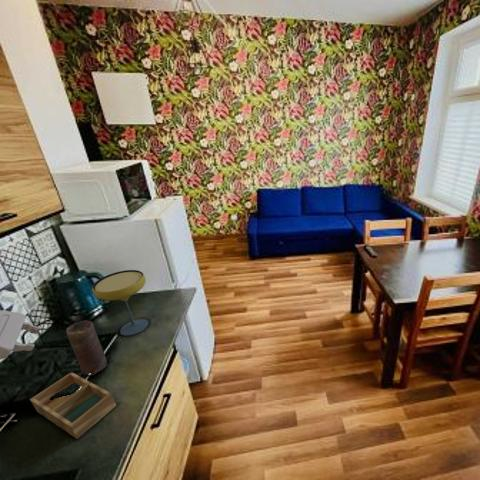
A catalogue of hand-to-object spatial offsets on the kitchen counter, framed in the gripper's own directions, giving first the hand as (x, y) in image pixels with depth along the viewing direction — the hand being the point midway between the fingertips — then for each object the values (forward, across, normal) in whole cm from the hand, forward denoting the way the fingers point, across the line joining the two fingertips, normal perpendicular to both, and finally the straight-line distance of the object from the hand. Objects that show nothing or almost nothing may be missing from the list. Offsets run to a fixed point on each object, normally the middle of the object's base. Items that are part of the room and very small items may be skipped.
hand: (36, 338), depth 87 cm
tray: (+18, +16, -11) cm, 26 cm away
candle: (+22, 0, -8) cm, 23 cm away
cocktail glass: (+32, -18, +2) cm, 37 cm away
